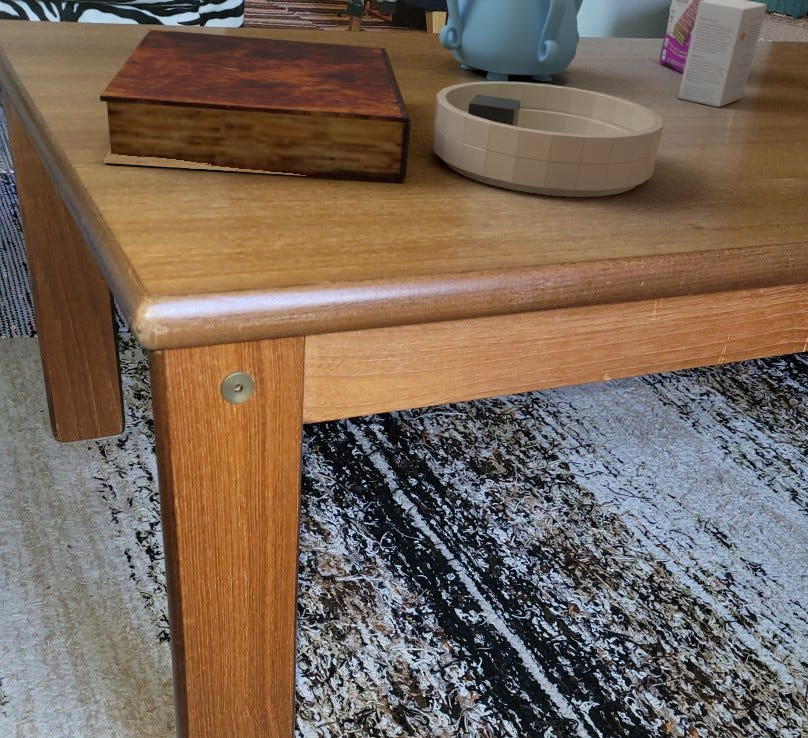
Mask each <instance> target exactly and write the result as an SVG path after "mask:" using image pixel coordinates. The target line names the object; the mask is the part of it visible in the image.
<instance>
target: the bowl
mask: <svg viewBox="0 0 808 738" xmlns="http://www.w3.org/2000/svg"><path fill="white" fill-rule="evenodd" d="M477 94H478V95H485V96H492V97H499V98H506V99H514V100H520V101H521V102H520V109H519V116H518V123H517V126H512V125H507V124H502V123H498V122H494V121H490V120H487V119H483V118H480V117H477V116H473V115H471V114H468V109H469V103H470V102H471V101H472V100H473V98H474V97H475V96H476V95H477ZM433 117H434V118H433V126H432V127H433V128H432V138H431V147H432V151H433V153H434V154H435V155H436V156H437V157H439V159H441V160H442V161H443V163H444V164H445V165H446V166H447V167H448V168H450V169H451V170H452V171H454V172H456V173H458V174H459V175H461V176H464V177H466V178H468V179H470V180H473V181H476V182H478V183H482V184H486V185H489V184H490V186H493V185H495V186H494V187H496V186H498V187H497V188H500V187H503V188H502V189H505V188H507V189H506V190H509V189H511V191H514V190H517V191H516V192H520V191H525V192H524V193H526V192H532V193H531V194H533V193H538V194H537V195H540V194H545V195H544V196H550V195H552V196H551V197H563V196H565V197H566V198H595V197H606V196H612V195H617V194H622V193H625V192H628V191H631V190H632V189H635V188H636V187H637V186H638V185H642V184H644V183H645V182H647V181H648V180H650V179H651V178H652V177H653V174H654V170H655V166H656V160H657V156H658V152H659V147H660V142H661V139H662V134H663V129H664V119H663V118H662V117H661V115H660V114H658V112H656V111H653V110H651V109H650V108H648V107H646V106H644V105H641V104H639V103H636V102H633V101H630V100H628V99H624V98H623V97H618V96H614V95H610V94H606V93H602V92H597V91H593V90H587V89H581V88H577V87H569V86H563V85H555V84H548V83H538V82H537V83H536V82H526V81H525V82H524V81H493V80H490V81H474V82H472V81H471V82H466V83H457V84H454V85H450V86H447V87H444V88H442V89H440V91H438V93H436V97H435V107H434V116H433Z"/></svg>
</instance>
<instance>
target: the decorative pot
mask: <svg viewBox="0 0 808 738" xmlns="http://www.w3.org/2000/svg"><path fill="white" fill-rule="evenodd" d="M583 1H584V0H446V4H447V6H446V7H447V12H448V17H447V21H446V25H444V26H443V27H442V28H441V30H440V32H439V37H438V39H439V43H440V45H441V46H442V48H444V49H446V50H449V52H451V55H452V57H453V59H455V60H456V61H458V62H460V63H461V66H460V68H463V69H465V70H474V71H478V70H483V71H486V72H487V74H486V77H485V78H486V79H487V80H488V81H495V82H496V81H501V82H509V75H517V76H519V75H520V76H521V75H522V76H530V78H531V80H535V81H542V82H550V81H553V78H552V75H559V74H562V73H563V72H564V71H566V69H567V68H568V67H569V65H570V64H571V63H572V62H573V60H574V59H575V56H576V54H577V47H578V44H579V42H580V33H579V30H578V14H579V13H580V10H581V8H582V4H583Z"/></svg>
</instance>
